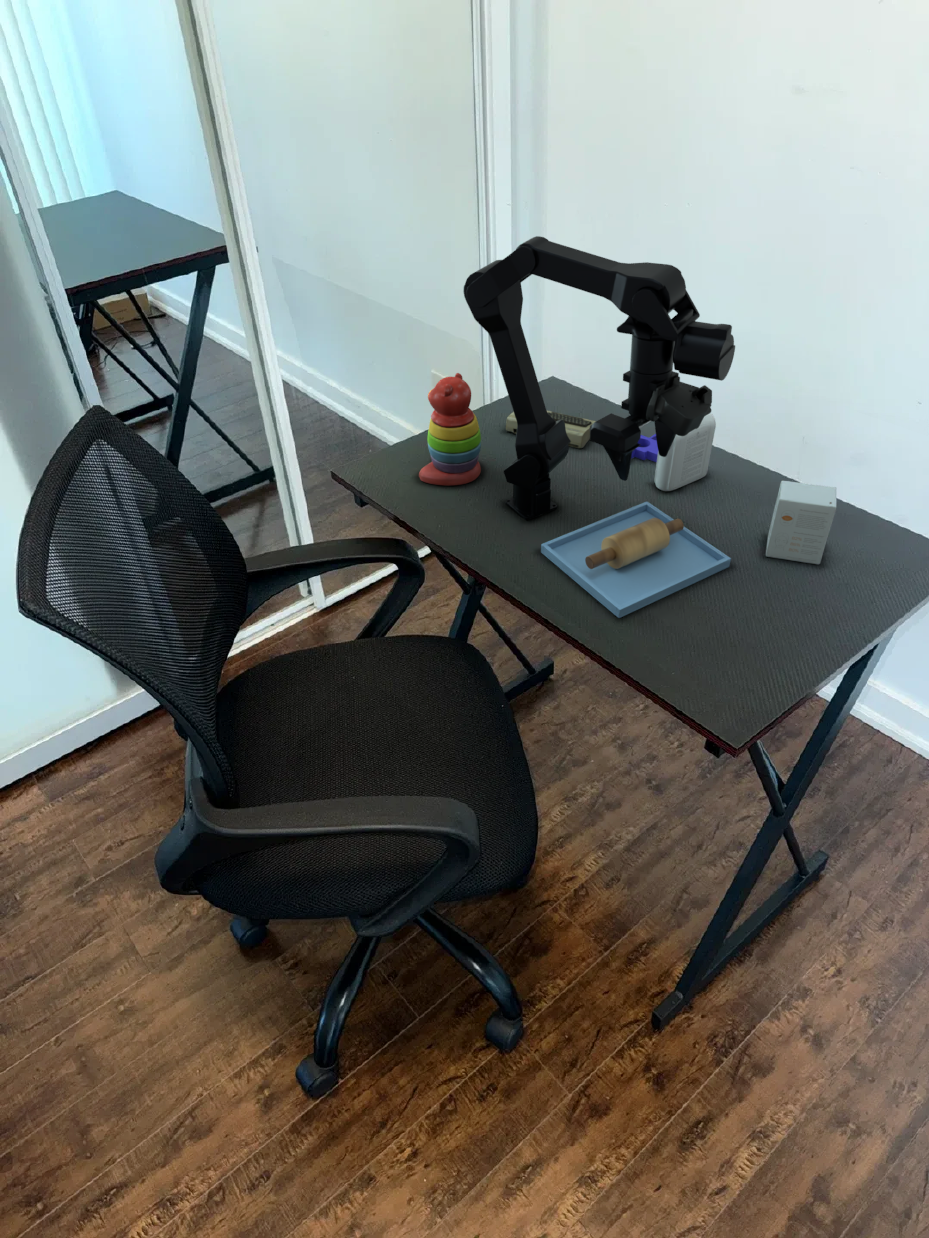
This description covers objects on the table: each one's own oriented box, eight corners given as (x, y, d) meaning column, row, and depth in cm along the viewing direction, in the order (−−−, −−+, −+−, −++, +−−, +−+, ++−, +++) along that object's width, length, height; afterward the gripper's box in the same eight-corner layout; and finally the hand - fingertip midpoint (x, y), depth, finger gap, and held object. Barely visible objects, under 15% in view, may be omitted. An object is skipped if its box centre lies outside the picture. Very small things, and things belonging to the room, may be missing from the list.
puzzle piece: (627, 430, 157) (628, 422, 156) (682, 450, 151) (683, 442, 150) (596, 449, 152) (597, 442, 151) (651, 472, 146) (652, 463, 145)
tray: (540, 552, 129) (541, 544, 128) (645, 509, 137) (646, 501, 136) (618, 618, 117) (619, 609, 116) (729, 566, 125) (731, 558, 124)
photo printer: (692, 466, 147) (703, 401, 139) (710, 476, 144) (722, 411, 136) (649, 484, 143) (658, 419, 135) (667, 495, 140) (676, 429, 132)
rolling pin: (577, 567, 125) (579, 540, 122) (666, 530, 131) (670, 503, 128) (598, 584, 122) (601, 557, 118) (688, 545, 128) (693, 518, 125)
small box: (820, 545, 128) (838, 486, 121) (819, 566, 124) (838, 507, 117) (766, 536, 130) (781, 479, 123) (764, 557, 126) (779, 498, 119)
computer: (597, 430, 158) (599, 414, 156) (581, 450, 152) (582, 433, 150) (523, 414, 164) (523, 399, 162) (505, 432, 158) (505, 417, 156)
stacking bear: (443, 452, 154) (437, 361, 142) (492, 463, 150) (490, 370, 138) (414, 480, 146) (406, 386, 135) (465, 493, 143) (462, 397, 131)
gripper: (656, 406, 103) (647, 512, 113) (742, 359, 112) (727, 461, 122) (588, 383, 110) (585, 485, 119) (674, 340, 119) (665, 438, 129)
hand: (643, 467), depth 122 cm, fingers open, 9 cm apart
